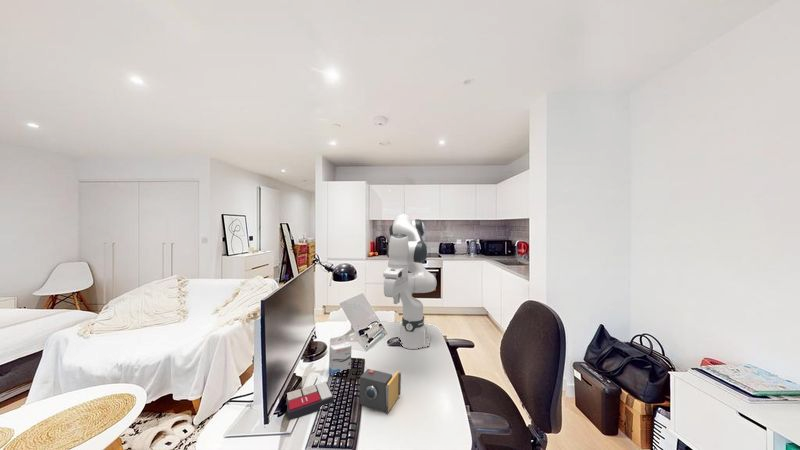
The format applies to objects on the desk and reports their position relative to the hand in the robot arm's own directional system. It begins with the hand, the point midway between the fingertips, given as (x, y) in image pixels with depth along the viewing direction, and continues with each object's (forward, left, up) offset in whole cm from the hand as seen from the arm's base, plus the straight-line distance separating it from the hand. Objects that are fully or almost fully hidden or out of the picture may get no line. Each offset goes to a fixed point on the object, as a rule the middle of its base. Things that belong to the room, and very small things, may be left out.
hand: (396, 303), depth 115 cm
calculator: (+29, -22, -32) cm, 48 cm away
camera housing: (+20, 0, -31) cm, 37 cm away
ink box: (+7, -24, -31) cm, 40 cm away
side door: (+18, +6, -31) cm, 36 cm away
